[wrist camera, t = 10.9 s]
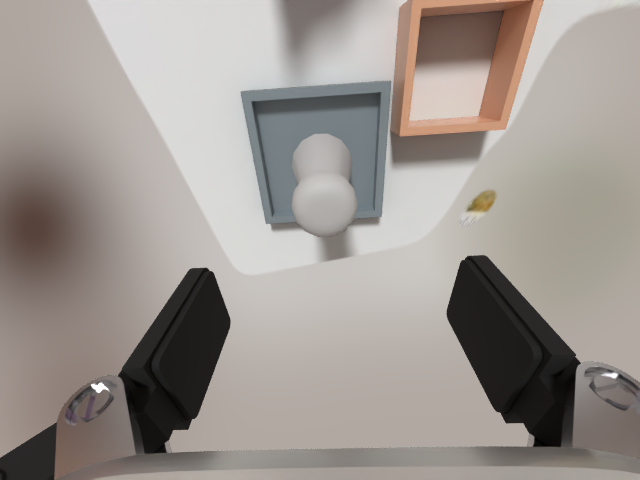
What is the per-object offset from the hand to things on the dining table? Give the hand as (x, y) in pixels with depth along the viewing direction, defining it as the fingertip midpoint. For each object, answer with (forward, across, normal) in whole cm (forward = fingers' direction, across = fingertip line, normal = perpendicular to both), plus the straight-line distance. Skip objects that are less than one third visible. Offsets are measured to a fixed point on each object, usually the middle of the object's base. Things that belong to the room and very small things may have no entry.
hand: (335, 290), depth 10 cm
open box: (+21, -11, -7) cm, 25 cm away
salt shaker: (+20, +1, 0) cm, 20 cm away
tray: (+21, +1, 0) cm, 21 cm away
